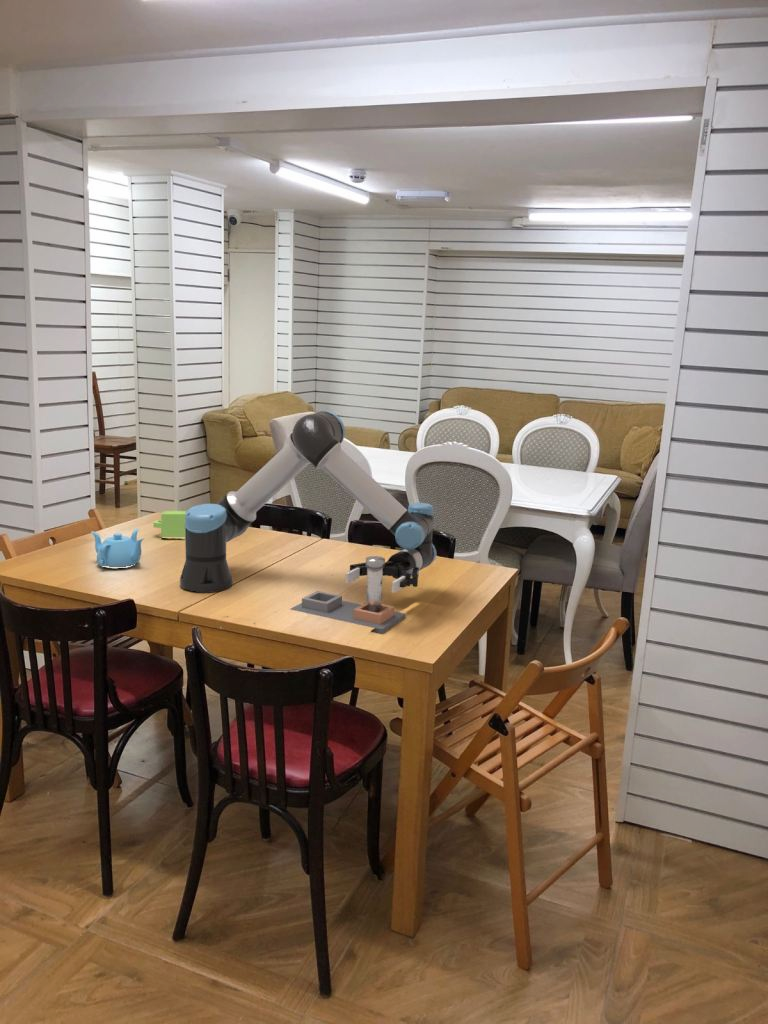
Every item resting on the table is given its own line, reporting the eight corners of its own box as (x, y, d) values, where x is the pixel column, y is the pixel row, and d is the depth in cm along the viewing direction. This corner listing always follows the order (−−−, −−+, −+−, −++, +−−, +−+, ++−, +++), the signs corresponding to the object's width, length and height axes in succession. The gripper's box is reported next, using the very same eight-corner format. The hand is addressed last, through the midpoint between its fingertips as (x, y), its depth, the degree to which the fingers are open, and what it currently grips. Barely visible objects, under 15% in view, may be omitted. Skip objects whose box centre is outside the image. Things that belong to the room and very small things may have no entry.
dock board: (289, 613, 210) (289, 600, 209) (316, 599, 222) (316, 586, 222) (381, 633, 198) (382, 620, 197) (405, 617, 210) (405, 604, 209)
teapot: (95, 573, 238) (94, 541, 236) (91, 560, 251) (90, 529, 249) (145, 569, 244) (144, 538, 242) (139, 556, 257) (138, 526, 255)
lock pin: (360, 617, 205) (362, 559, 202) (369, 612, 210) (371, 555, 206) (377, 621, 203) (379, 562, 200) (386, 615, 208) (388, 558, 204)
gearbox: (204, 534, 292) (205, 509, 290) (204, 540, 282) (204, 514, 281) (154, 534, 288) (154, 508, 286) (152, 539, 278) (152, 513, 277)
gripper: (444, 584, 215) (412, 605, 197) (365, 569, 226) (327, 588, 208) (446, 558, 214) (413, 577, 195) (366, 544, 225) (328, 561, 206)
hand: (369, 582), depth 201 cm, fingers open, 13 cm apart
